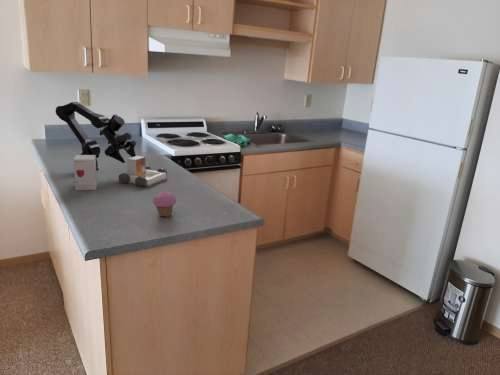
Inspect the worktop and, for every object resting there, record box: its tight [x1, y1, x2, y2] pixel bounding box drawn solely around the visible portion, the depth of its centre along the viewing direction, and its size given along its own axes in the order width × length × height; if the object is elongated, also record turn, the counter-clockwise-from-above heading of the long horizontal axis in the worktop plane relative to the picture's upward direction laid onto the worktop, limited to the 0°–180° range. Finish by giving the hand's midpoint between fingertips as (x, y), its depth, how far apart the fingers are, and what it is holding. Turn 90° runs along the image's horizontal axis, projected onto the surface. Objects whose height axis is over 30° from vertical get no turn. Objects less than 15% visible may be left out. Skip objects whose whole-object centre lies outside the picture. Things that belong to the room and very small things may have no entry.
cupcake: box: [152, 191, 177, 217], centre depth 162 cm, size 9×9×10 cm
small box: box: [126, 155, 147, 177], centre depth 205 cm, size 8×6×10 cm
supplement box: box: [73, 154, 98, 191], centre depth 188 cm, size 9×9×15 cm
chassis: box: [118, 164, 168, 188], centre depth 206 cm, size 20×17×5 cm
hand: (130, 160), depth 207 cm, fingers open, 9 cm apart
